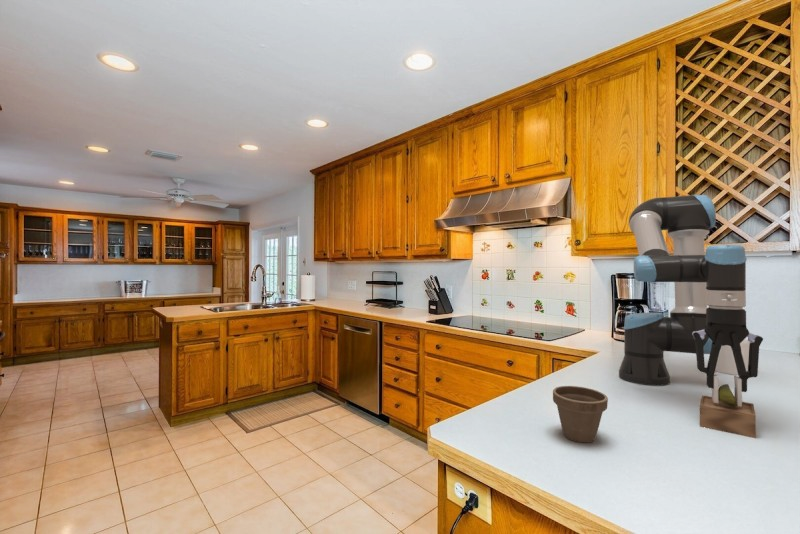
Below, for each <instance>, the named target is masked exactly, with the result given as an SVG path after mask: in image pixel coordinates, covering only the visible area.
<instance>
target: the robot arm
mask: <svg viewBox="0 0 800 534" xmlns="http://www.w3.org/2000/svg"><path fill="white" fill-rule="evenodd" d="M716 213H717V212H716V209H715V204H714V202H713V200H712V199H711V197H710V196H708V195H705V194H688V195H680V196H679V195H677V196H666V197H654V198H650V199H648V200H645V201H644V202H641V204H639V205H638V206H636V207H635V208H634V209H633V210H632V212H631V214H630V216H629V219H628V226H629V229H630V231H631V232H632V233H633V235H634V238H635V243H636V248H637V252H638V255H637V256H635V257H634V259H633V277H634V280H635V281H637V282H642V283H643V282H645V283H674V308H672V310H670V312H669V317H668V316H665V315H664V313H663V312H658V311H657V312H650V311H649V312H639V313H631V314H628V315H626V316H625V317H624V326H623V330H624V332H623V333H624V334H623V335H624V341H623V342H624V347H623V349H624V355H623V358H622V361H621V364H620V365H619V366H620V367H619V369H618V377H619V378H620V379H622V380H624V381H627V382H630V383H633V384H639V385H640V384H641V385H646V386H648V385H649V386H666V385H669V384H670V383H671V375H670V373H669V370H668V368H667V365H666V362H665V359H664V357H665V356H664V353H665V352H671V353H672V352H673V353H683V354H695V355H696V356H695V357H696V367H697V370H698V371H699V372H701V373H703V374H706V386H707V387H708V389H711V397H712V400H713V402H714V403H718V389H719V376H718V374H715V372H716V371H715V369H716V364H717V360H718V356H719V352H720V349H721V346H724V345H728V346H731V348H732V351H733V355H734V359H735V363H736V367H737V371H738V375H739V376H738V375H733V376H734V377H733V379H734V383H733V384H734V385H733V386H734V387H733V388H734V397H735V400H736V402H737V404H738V406H742V402H743V397H742V394H743V393H746V392H747V391H748V380H749V378H757V377H758V376H759V375H758V373H759V356H760V346H761V344H762V342H763V341H764V338H763V337H762V336H760V335H758V334H754V333H752V332H750V331H749V330H748V327H747V311H746V309H744V308H745V307H746V306H747V300H746V299H747V297H746V296H747V295H746V292H747V291H746V286H747V281H746V279H747V277H746V273H747V272H746V269H747V266H746V264H747V263H746V262H747V257H746V248H745V247H744V245H742V244H718V245H717V244H716V245H709V246H707V247H706V248H705V237H706V236H707V235H709V234H710V230H711V229H713V228H715V226H716V223H717V221H716V220H717V219H716V218H717V215H716ZM662 231H666V232H667V236H668V237H669V238H671V239H672V245H673V247H672V248H673V250H672V251H673V254H672V255H670V252H669V248H668V246H667V243H666V240H665V237H664V235H663V232H662ZM746 338H747V340H748V341H749V342H750V345H749V360H748V371H746V368H745V364H744V360H743V356H742V352H741V346H740V343H741V342H742V341H743V340H746ZM705 355H709V356H708V360H707V365H705V363H706V362H705Z"/></svg>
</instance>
